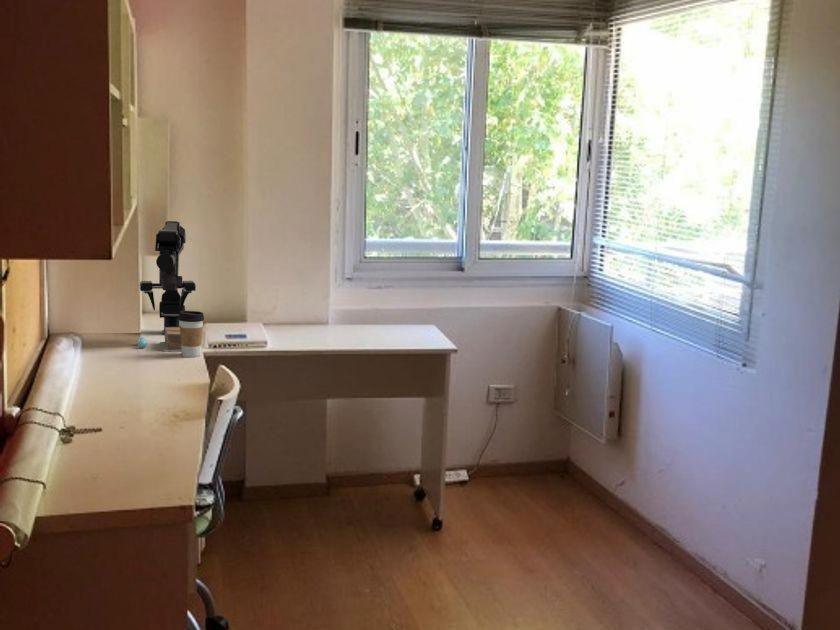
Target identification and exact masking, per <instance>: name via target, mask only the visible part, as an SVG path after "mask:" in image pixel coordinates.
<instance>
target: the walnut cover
mask: <svg viewBox="0 0 840 630" xmlns="http://www.w3.org/2000/svg"><path fill="white" fill-rule="evenodd" d="M164 342H165V344H166V346H167V349H168V350H182V346H181V336H180V327H165V335H164Z"/></svg>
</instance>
